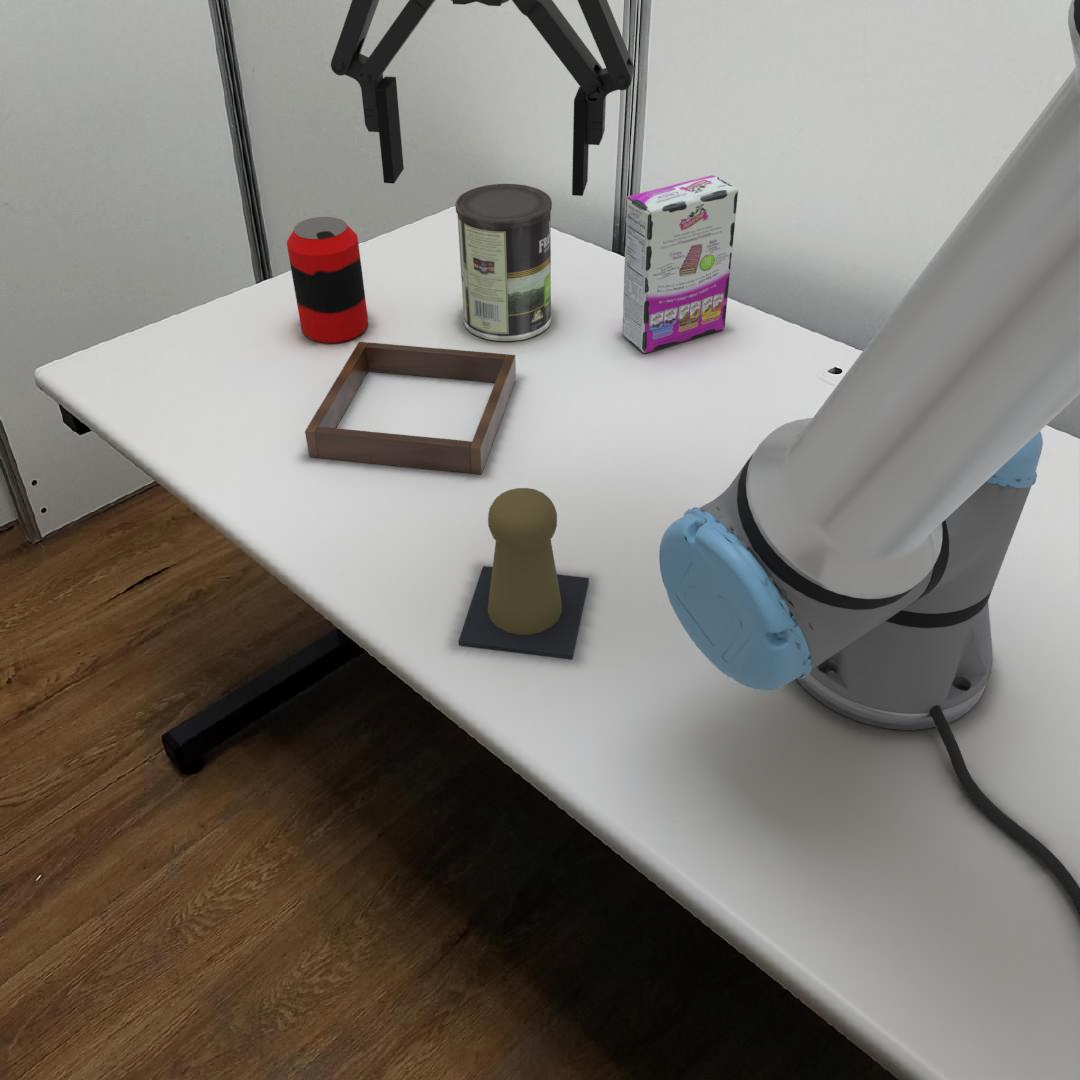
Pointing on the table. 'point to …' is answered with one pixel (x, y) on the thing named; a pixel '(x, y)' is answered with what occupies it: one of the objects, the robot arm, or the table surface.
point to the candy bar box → (677, 262)
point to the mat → (545, 643)
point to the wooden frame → (407, 448)
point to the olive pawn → (523, 563)
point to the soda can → (328, 279)
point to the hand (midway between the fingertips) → (485, 182)
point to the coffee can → (505, 261)
